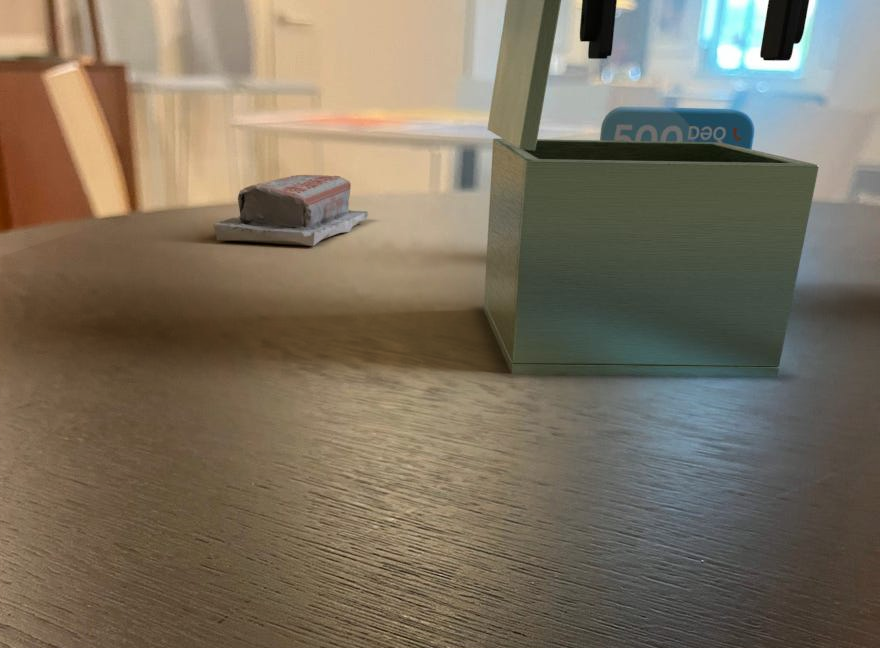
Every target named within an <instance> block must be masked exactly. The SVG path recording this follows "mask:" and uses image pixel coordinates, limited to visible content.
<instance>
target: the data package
mask: <svg viewBox="0 0 880 648" xmlns="http://www.w3.org/2000/svg"><path fill="white" fill-rule="evenodd" d="M754 137H755V126H754V122H753V120H752V118H751V117H750V116H749V114H747V113H745V112H743V111H739V110H737V109H731V108H708V107H707V108H705V107H703V108H702V107H700V108H699V107H698V108H697V107H661V106H655V107H654V106H619V107H616V108H615V107H614V109H611V110H610V111H609V112H608V113H607V114H606V115H605V117H604V119H603V121H602V123H601V127H600V137H599V140H606V141H664V142H721V143H725V144H729V145H734V146H738V147H742V148H747V149H751V150H753V143H754Z"/></svg>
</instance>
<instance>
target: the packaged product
mask: <svg viewBox="0 0 880 648" xmlns="http://www.w3.org/2000/svg"><path fill="white" fill-rule="evenodd" d="M351 188H352V187H351V181H349V180H348V179H346V178H344V177H341V176H339V175H322V174H296V175H291V176H286V177H281V178H277V179H273V180H270V181H264V182H262V183H257V184H252V185H249V186H246V187H244V188H242V189H240V191H239V193H238V195H237V203H238V208H239V216H237V217H232V218H227V219H225V220H221V221H218V222H215V223H214V224H213V229H214V233H215V237H216V240H217V241H223V242H224V241H226V242H240V243H255V244H256V243H257V244H273V245H286V246H287V245H288V246H291V245H292V246H304V247H305V246H306V247H314V246H316V245H317V244H318V243H319V242H321V241H323V240H326V239H327V238H330V237H332V236H335V235H338V234H344V233H349V232H350V231H351V230H352V228H353V227H355V226H357V225H359V224H362V223H363V222H366V220H367V219H368V217H369V212H368V211H367V210H350V209H349V205H350V203H349V200H350V195H351Z"/></svg>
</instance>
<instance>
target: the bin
mask: <svg viewBox="0 0 880 648" xmlns="http://www.w3.org/2000/svg"><path fill="white" fill-rule="evenodd" d="M819 167H820V166H819V165H818V164H815V163H811V162H807V161H802V160H799V159H795V158H794V159H793V158H790V157H785V156H781V155H778V154H773V153H768V152H765V151H760V150H755V149H752V150H751V149H747V148H742V147H738V146H734V145H729V144H725V143H721V142H664V141H606V140H600V139H599V140H598V139H540V138H537V143H536V149H535V151H531V150H524V149H519V148H518V147H516V146H514V145H513V144H511V143H509V142H508V141H506V140H504V139H503V138H493V139H492V152H491V171H490V187H489V188H490V190H489V207H488V223H487V225H488V226H487V228H488V229H487V240H486V241H487V245H486V258H485V259H486V262H485V278H484V279H485V280H484V298H483V301H484V302H483V313H484V314H485V316H486V319H487V321H488V323H489V326H490V328H491V330H492V332H493V334H494V337H495V340H496V341H497V344H498V346H499V348H500V350H501V353H502V355H503V358H504V360H505V363H506V364H507V367H508V370H509V372H510V374H511V375H574V376H576V375H578V376H579V375H580V376H581V375H582V376H583V375H584V376H586V375H587V376H658V377H660V376H662V377H663V376H664V377H665V376H667V377H668V376H669V377H670V376H671V377H682V376H683V377H754V378H757V377H758V378H760V377H761V378H777V377H778V375H779V369H780V367H779V366H780V363H781V358H782V354H783V350H784V349H783V348H784V343H785V338H786V333H787V328H788V323H789V318H790V314H791V309H792V303H793V299H794V293H795V288H796V285H797V284H796V283H797V279H798V273H799V268H800V264H801V258H802V254H803V248H804V242H805V239H806V234H807V233H806V232H807V228H808V223H809V218H810V212H811V208H812V203H813V199H814V198H813V197H814V193H815V189H816V188H815V187H816V183H817V178H818V173H819Z"/></svg>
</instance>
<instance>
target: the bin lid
mask: <svg viewBox="0 0 880 648" xmlns="http://www.w3.org/2000/svg"><path fill="white" fill-rule="evenodd" d="M561 4H562V0H506V3H505V10H504V17H503V23H502V31H501V35H500V36H501V37H500V42H499V43H500V44H499V51H498V57H497V62H496V70H495V76H494V82H493V89H492V95H491V101H490V102H491V103H490V110H489V115H488V123H487V131H489V132H491V133H492V134H494V135H496V136H498V137H499V138H500V139H504V140H506V141H508V142H509V143H511V144H513V145H514V146H516V147H518V148H519V149H524V150H531V151H535V149H536V143H537V139H538V138H539V137H538V136H539V131H540V125H541V119H542V113H543V107H544V102H545V97H546V92H547V91H546V90H547V85H548V79H549V74H550V68H551V62H552V57H553V50H554V45H555V40H556V32H557V27H558V21H559V16H560V11H561Z"/></svg>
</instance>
